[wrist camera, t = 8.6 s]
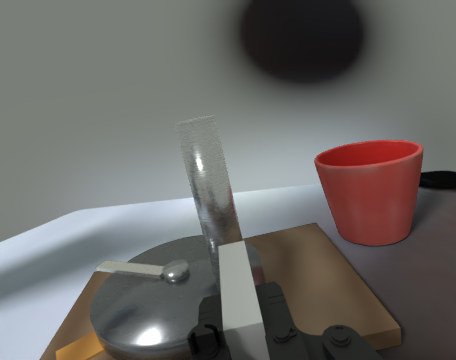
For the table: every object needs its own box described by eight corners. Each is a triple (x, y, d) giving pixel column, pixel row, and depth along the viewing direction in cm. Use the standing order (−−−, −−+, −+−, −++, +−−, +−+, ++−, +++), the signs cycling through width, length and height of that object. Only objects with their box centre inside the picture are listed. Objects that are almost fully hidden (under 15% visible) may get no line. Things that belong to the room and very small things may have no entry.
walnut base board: (13, 430, 22) (3, 413, 22) (98, 282, 40) (93, 270, 39) (401, 344, 22) (400, 325, 22) (317, 233, 40) (315, 221, 39)
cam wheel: (41, 336, 29) (-37, 169, 24) (152, 245, 42) (115, 127, 38) (214, 390, 20) (142, 144, 16) (286, 253, 33) (259, 99, 29)
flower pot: (331, 211, 45) (322, 144, 42) (422, 210, 39) (419, 134, 37) (316, 251, 36) (304, 169, 33) (431, 257, 31) (428, 161, 28)
